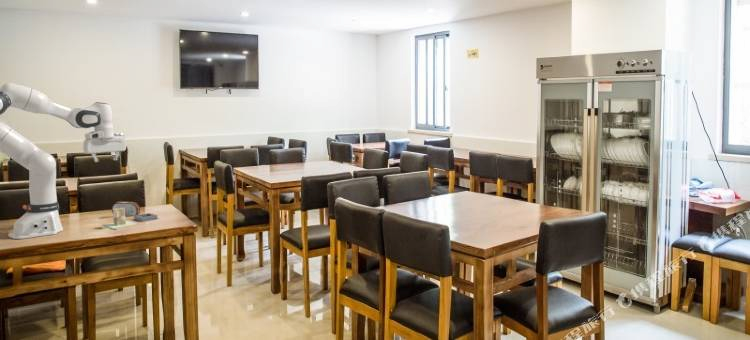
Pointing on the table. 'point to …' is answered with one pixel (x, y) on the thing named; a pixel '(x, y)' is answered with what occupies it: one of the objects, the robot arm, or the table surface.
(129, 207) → the tin
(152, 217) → the pocket holder
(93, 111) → the robot arm
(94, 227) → the table surface
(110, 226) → the green board
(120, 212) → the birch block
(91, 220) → the table surface
